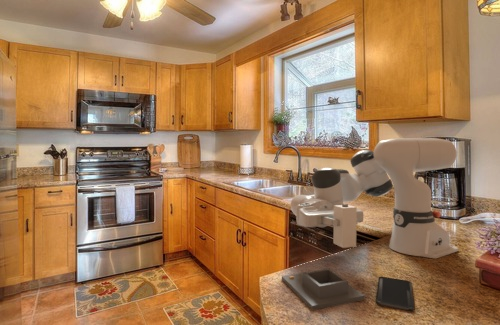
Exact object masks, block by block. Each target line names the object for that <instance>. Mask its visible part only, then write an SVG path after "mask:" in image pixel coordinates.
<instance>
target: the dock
mask: <svg viewBox="0 0 500 325" xmlns="http://www.w3.org/2000/svg"><path fill="white" fill-rule="evenodd" d="M281 281H282V282H284V284H286V285H287V287H289V289H291V291H293V293H294V294H296V296H297V297H298V298H300V300H301V301H303V302H304V304H305V305H306V306H308V307H309V309H311V311H315V310H319V309H325V308H330V307H334V306H335V307H336V306H340V305H344V304H345V305H346V304H350V303H355V302H359V301H364V300H365V296H366V295H365V294H363V293H362V292H360V291H359V290H357V289H356V288H354V287H353V286H352V285H350V284H349V282H350V281H349V280H348V279H346V278H344V277H343V276H341V275H340V274H339V273H337V272H335V271H334V270H333V269H331V268H330V267H329V268H324V269H317V270H312V271H304V272H299V273H293V274H289V275H288V274H287V275H282V276H281Z"/></svg>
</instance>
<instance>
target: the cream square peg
mask: <svg viewBox="0 0 500 325" xmlns="http://www.w3.org/2000/svg"><path fill="white" fill-rule="evenodd" d="M357 209H358V208H357V207H356V206H353V205H350V204H348V203H343V204H342V205H334V219H338V220H340V226H333V239H332V240H333V242H332V243H333V244H334V245H337V246H338V247H340V248H342V249H346V248H353V247H357V224H356V218H357Z"/></svg>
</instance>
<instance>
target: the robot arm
mask: <svg viewBox="0 0 500 325" xmlns="http://www.w3.org/2000/svg"><path fill="white" fill-rule="evenodd" d="M457 154H458V152H457V149H456V146H455V145H454V143H453V142H452V141H451V140H449V139H443V138H437V137H415V138H414V137H410V138H409V137H407V138H406V137H402V138H401V137H399V138H398V137H397V138H395V137H393V138H388V139H384V140H380V141H378V143H377V144H376V145H375V147H374V149H373V151H372V150H371V149H370V150H368V149H365V150H359V151H357V152H356V153H355V154H354V155H353V156H352V157H351V159H350V164H351V167H352V168H353V169H354V172H355V173H350V172H349V171H348V170H347V169H344V168H343V169H342V168H339V169H338V168H337V169H336V168H331V167H320V168H319V169H316V170H315V171H314V172H313V174H312V175H311V182H312V187H313V192H314V196H312V195H307V194H297V195H295V196H294V197H292V200H291V202H290V209H291V212H292V213H293V215H295V218H296V220H295V221H296V225H298V226H302V227H305V228H316V227H318V228H326V227H328V226H333V227H334V226H340V220H338V219H334V205H342V204H344V203H349V202H353V201H355V200H357V199H358V197H359V196H360V195H361V194H362V193H363V192H365V194H364V195H369V196H371V197H382V196H385V195H387V194H389V192H391V191H392V189H393V191H394V207H393V210H392V216H393V217H392V218H393V223H392V229H391V236H390V238H389V245H388V248H390V249H391V250H393V251H395V252H398V253H400V254H404V255H410V256H413V257H414V256H415V257H425V258H428V259H429V258H430V259H439V258H442V257H445V256H449V255H450V254H454V253H456V252H459V248H458V247H457V246H455V245H453V244H451V242H450V241H451V238H450V237H451V236H450V234H449V232H448V231H447V230H446V229H444V228H443V227H442V226H441V225H440V224H438V223H437V222H436V219H435V218H441V211H436V210H433V211H432V190H431V188H430V186H429V185H428V184H427V183H426V182H424V181H422V180H420V179H418V178H416V177H415V175H414V173H416V172H427V171H436V170H443V169H448V168H450V167H452V166H453V165H454V163H455V161H456V159H457ZM363 222H364V211H363V210H362V209H358V208H357V218H356V225H358V223H363Z"/></svg>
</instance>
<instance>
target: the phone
mask: <svg viewBox="0 0 500 325" xmlns="http://www.w3.org/2000/svg"><path fill="white" fill-rule="evenodd" d="M376 289H377V290H376V296H375V304H376V305H378V306H381V307H383V308H384V307H386V308H390V309H395V310H400V311H402V312H403V311H405V312H409V313H412V312H414V311H415V300H414V292H413V285H412V282H411V281H409V280H404V279H399V278H393V277H388V276H378V280H377V288H376Z"/></svg>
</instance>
